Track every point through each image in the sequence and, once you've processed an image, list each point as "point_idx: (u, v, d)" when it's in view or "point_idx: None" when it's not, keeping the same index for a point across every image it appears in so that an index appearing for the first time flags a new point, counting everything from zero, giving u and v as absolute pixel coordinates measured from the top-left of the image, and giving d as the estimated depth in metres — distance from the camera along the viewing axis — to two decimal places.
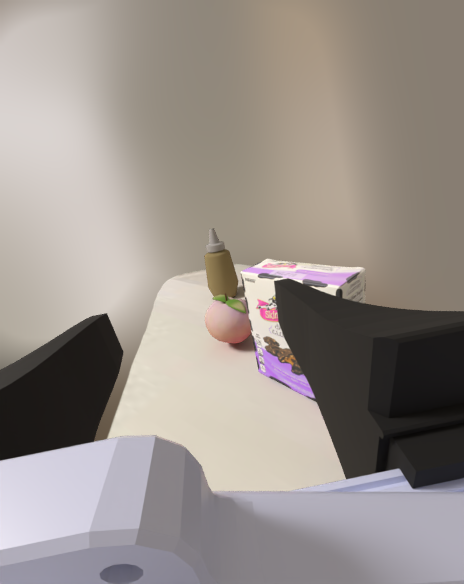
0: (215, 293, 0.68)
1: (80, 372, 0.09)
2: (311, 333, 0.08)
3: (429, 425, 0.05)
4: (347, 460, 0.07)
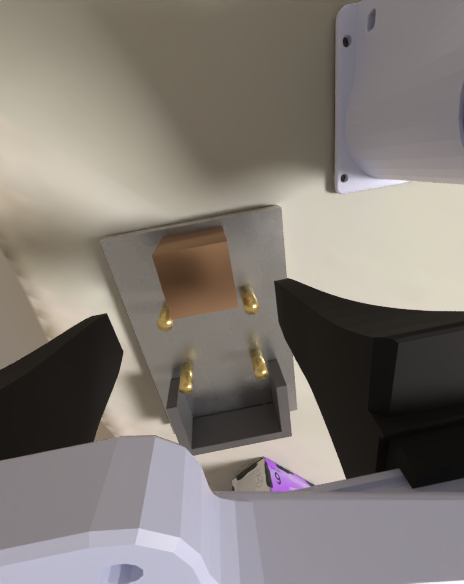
0: None
1: (80, 372, 0.09)
2: (311, 333, 0.08)
3: (429, 426, 0.05)
4: (347, 460, 0.07)
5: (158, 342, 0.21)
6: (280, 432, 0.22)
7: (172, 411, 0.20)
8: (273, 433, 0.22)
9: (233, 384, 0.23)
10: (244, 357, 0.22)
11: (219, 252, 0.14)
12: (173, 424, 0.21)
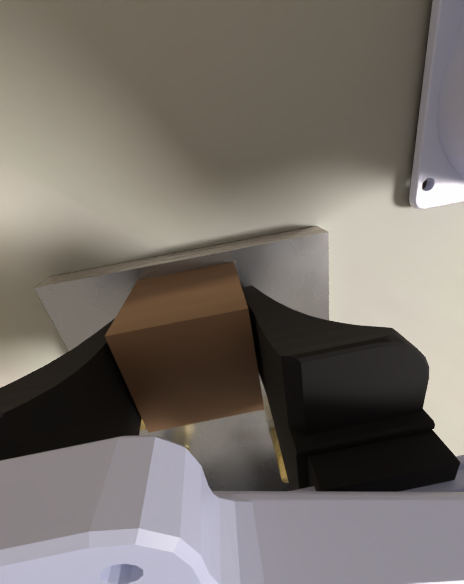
0: None
1: None
2: (259, 343, 0.08)
3: (343, 443, 0.05)
4: (288, 473, 0.07)
5: None
6: None
7: None
8: None
9: (246, 470, 0.17)
10: (262, 437, 0.16)
11: (233, 327, 0.08)
12: None
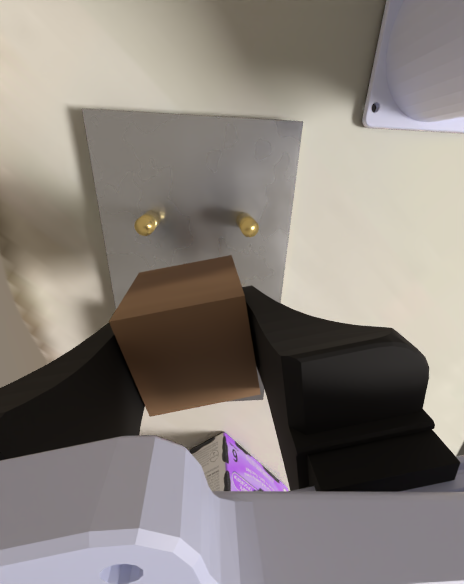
0: None
1: (126, 363, 0.09)
2: (259, 343, 0.08)
3: (343, 443, 0.05)
4: (288, 472, 0.07)
5: (130, 262, 0.18)
6: None
7: None
8: None
9: None
10: None
11: (230, 313, 0.08)
12: None
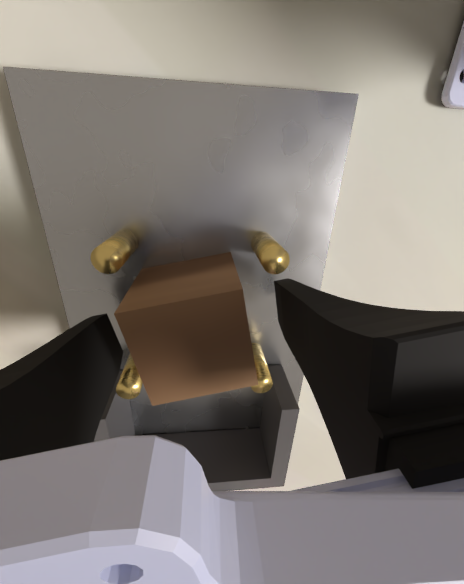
0: None
1: (80, 372, 0.09)
2: (311, 333, 0.08)
3: (429, 425, 0.05)
4: (347, 460, 0.07)
5: (97, 303, 0.12)
6: (268, 479, 0.14)
7: None
8: (257, 479, 0.14)
9: None
10: None
11: (229, 306, 0.08)
12: None
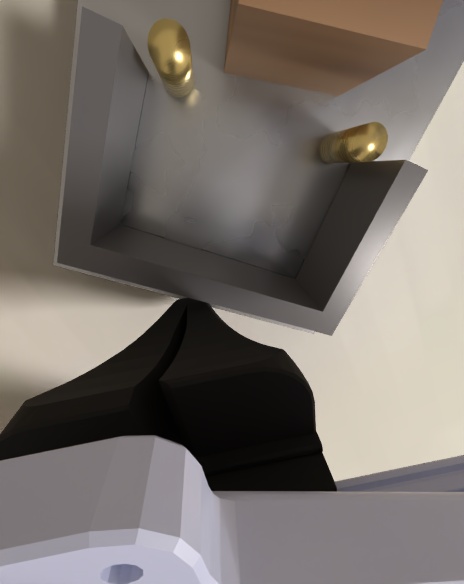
0: None
1: None
2: None
3: (229, 466, 0.05)
4: None
5: None
6: (318, 312, 0.09)
7: (99, 37, 0.06)
8: (303, 308, 0.09)
9: (245, 205, 0.10)
10: (306, 142, 0.10)
11: None
12: (78, 103, 0.06)
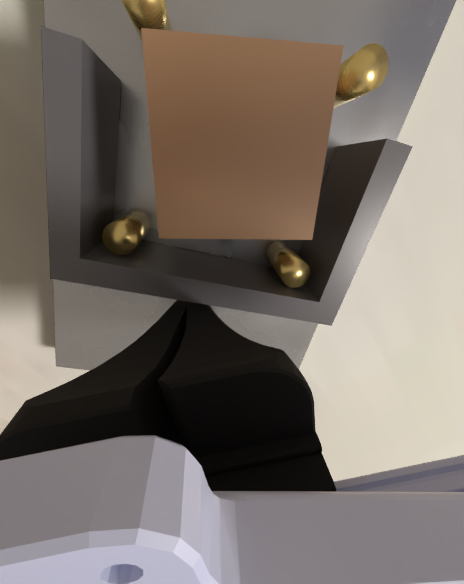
0: None
1: None
2: None
3: (229, 466, 0.05)
4: None
5: None
6: (315, 302, 0.09)
7: (61, 54, 0.06)
8: (298, 300, 0.09)
9: None
10: (254, 252, 0.11)
11: (315, 75, 0.06)
12: (49, 121, 0.06)
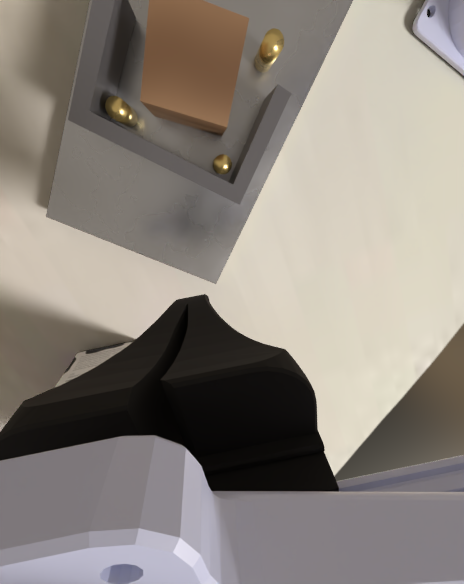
0: None
1: None
2: None
3: (231, 466, 0.05)
4: None
5: None
6: (230, 184, 0.15)
7: None
8: (220, 180, 0.14)
9: (168, 192, 0.17)
10: (204, 159, 0.17)
11: (234, 29, 0.11)
12: (91, 20, 0.11)
